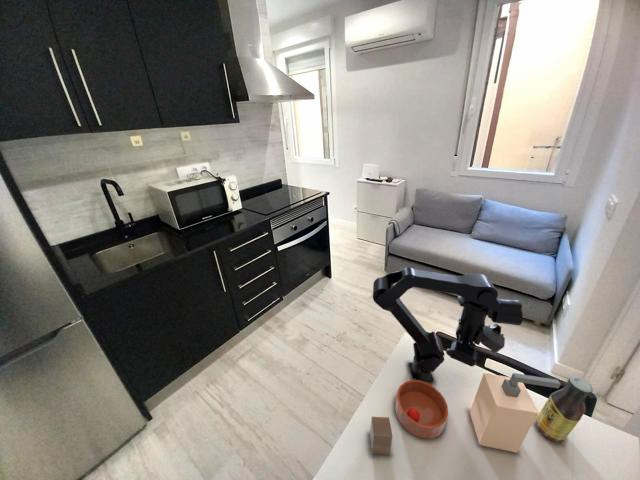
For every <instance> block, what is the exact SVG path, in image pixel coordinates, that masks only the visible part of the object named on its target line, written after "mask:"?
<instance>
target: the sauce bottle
mask: <svg viewBox="0 0 640 480" xmlns="http://www.w3.org/2000/svg"><path fill="white" fill-rule="evenodd" d="M566 381H567V383H566V385H565V386H564V387H562V388H560V389H558V390H556V391H554V392H552V393H551V394H550V395H549V397H548V399H547V400H546V402H545V403H544V405H543V406H542V408H541V410H540V411H539V414H538V415H537V417H536V419H535V425H536V427H537V429H538V430H539V432H540V433H541V434H542V435H543V436H544V437H546V439H548V440H550V441H552V442H557V443H558V442H560V443H561V442H564V440H566V439H567V438H568V436H569V435H570V434H571V432H572V431H573V430H574V428H575V427H576V426H577V424H579V422H580V421H581V419H582V417H583V416H584V415H585V413H586V409H587V408H586V402H585V401H586V399H587V397H588V396H591V394H592V393H593V392H594V388H593V385H592V384H591V383H589V381H587V380H586V379H584V378H582V377H580V376H577V375H572V376H569V378H568V379H567V380H566Z"/></svg>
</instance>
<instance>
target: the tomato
mask: <svg viewBox="0 0 640 480" xmlns="http://www.w3.org/2000/svg"><path fill="white" fill-rule="evenodd" d="M407 415H408V416H409V417H410V418H411V419H413V420H414V421H416V422H417V421H419V418H420V415H419V412H418V411H417V410H416V409H414V408H411V409H409V410H408V413H407Z"/></svg>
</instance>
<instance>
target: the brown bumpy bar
mask: <svg viewBox="0 0 640 480" xmlns="http://www.w3.org/2000/svg"><path fill="white" fill-rule="evenodd" d="M450 349H451V348H447V349H446V350H445V354H446V355H447V356H448V357H450V356H449V352H450ZM476 364H477V361H476V362H475V365H476Z"/></svg>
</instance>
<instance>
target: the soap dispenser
mask: <svg viewBox="0 0 640 480" xmlns="http://www.w3.org/2000/svg"><path fill="white" fill-rule="evenodd" d="M525 384H528V385H534V386H541V387H547V388H552V389H559V388H560V387H561V385H562V384H561V382H560V380H558V379H554V378H548V377H542V376H535V375H529V374H521V373H515V372H513V373H512V374H511V376H506V375H498V374H494V373H493V374H491V373H485V372H483V375H482V376H481V380H480V383H479V385H478V387H477V390H476V394H475V396H474V399H473V402H472V404H471V406H470V410H469V414H470V417H471V421H472V425H473V428H474V431H475V434H476V438H477V441H478V444H479V446H482V447H483V446H484V447H488V448H493V449H497V450H502V451H506V452H507V451H508V452H512V453H517V452H518V451H519V449H520V447H521V445H522V444H523V442H524V440H525V438H526V437H527V435H528V433H529V431H530V430H531V427H533V424H534V423H535V422H536V420H537V416H538V415H539V413H540V411H539V410H538V408H537V406H536V405H535V402H534V401H533V399H532V397H531V394H530V393H529V391H528V390H527V388H526V386H525Z"/></svg>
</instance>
